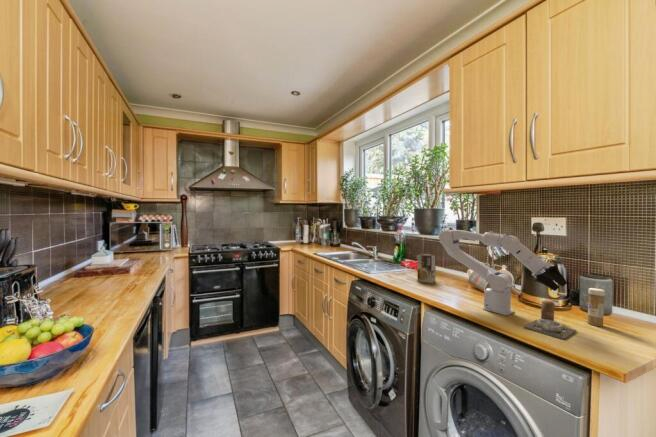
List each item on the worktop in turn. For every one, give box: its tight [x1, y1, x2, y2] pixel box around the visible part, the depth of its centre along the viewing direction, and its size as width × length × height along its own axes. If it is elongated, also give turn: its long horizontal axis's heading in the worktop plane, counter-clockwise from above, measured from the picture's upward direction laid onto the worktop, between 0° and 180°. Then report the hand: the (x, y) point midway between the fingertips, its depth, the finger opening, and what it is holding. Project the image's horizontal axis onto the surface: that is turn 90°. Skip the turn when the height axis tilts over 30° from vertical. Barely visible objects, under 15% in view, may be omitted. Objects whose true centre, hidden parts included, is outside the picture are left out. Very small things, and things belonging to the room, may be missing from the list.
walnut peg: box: [540, 300, 555, 321], centre depth 112 cm, size 4×4×7 cm
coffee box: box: [416, 253, 437, 284], centre depth 175 cm, size 9×6×16 cm
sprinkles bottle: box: [586, 287, 606, 327], centre depth 108 cm, size 5×5×13 cm
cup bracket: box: [523, 318, 577, 341], centre depth 103 cm, size 12×12×2 cm
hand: (561, 287), depth 107 cm, fingers open, 7 cm apart
